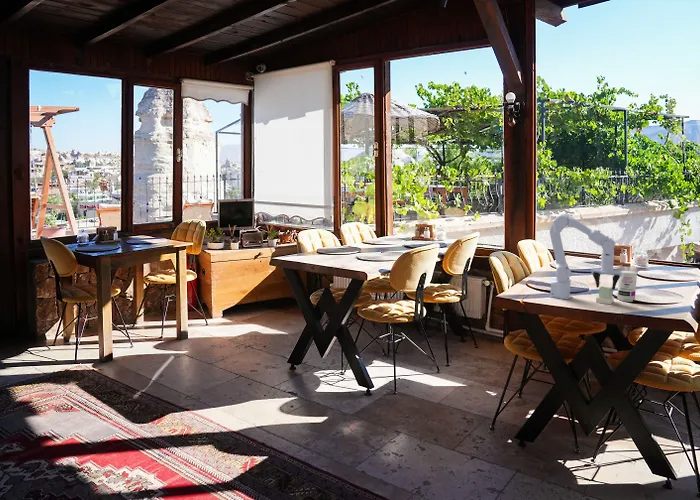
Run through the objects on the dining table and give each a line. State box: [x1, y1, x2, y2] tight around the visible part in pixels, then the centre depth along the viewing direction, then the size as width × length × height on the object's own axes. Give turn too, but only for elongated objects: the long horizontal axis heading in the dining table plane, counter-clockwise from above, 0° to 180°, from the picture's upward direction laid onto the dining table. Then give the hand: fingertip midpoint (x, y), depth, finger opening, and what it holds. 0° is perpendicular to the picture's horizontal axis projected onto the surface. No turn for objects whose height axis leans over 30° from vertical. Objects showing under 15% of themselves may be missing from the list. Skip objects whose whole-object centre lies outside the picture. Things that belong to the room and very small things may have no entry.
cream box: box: [595, 295, 615, 305], centre depth 295 cm, size 7×7×3 cm
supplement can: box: [616, 270, 638, 303], centre depth 297 cm, size 8×8×15 cm
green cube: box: [598, 285, 613, 299], centre depth 294 cm, size 5×5×5 cm
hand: (605, 288), depth 294 cm, fingers open, 7 cm apart
